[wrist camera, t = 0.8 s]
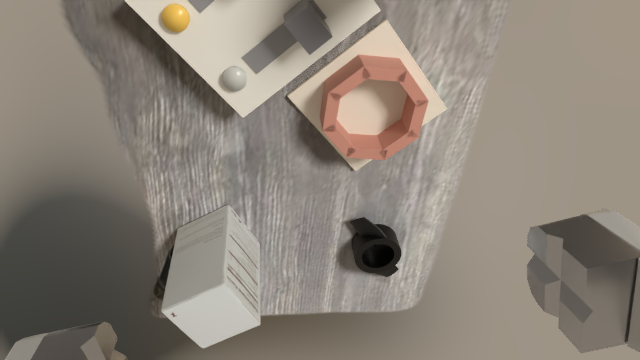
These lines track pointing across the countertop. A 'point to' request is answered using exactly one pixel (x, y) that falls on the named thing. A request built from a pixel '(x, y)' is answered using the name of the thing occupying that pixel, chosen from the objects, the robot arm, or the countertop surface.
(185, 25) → the breaker panel
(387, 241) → the black finned ring
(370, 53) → the ring
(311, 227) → the countertop surface
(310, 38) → the untagged switch
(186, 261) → the supplement box
